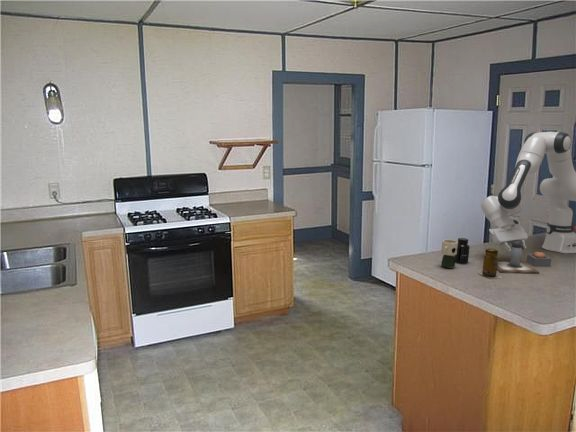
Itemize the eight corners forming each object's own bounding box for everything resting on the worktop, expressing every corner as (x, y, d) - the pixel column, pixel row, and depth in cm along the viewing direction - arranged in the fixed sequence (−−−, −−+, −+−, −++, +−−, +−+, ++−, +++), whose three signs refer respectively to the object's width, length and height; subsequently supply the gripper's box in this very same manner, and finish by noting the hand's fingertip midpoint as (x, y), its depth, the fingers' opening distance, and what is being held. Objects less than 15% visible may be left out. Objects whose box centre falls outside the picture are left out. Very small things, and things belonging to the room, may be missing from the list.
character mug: (450, 271, 224) (452, 244, 222) (436, 268, 229) (438, 241, 226) (459, 266, 232) (461, 240, 230) (445, 263, 237) (447, 237, 234)
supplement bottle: (463, 265, 234) (465, 241, 232) (450, 261, 239) (452, 238, 237) (470, 262, 239) (473, 239, 236) (458, 259, 244) (460, 236, 241)
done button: (541, 257, 239) (541, 252, 239) (545, 259, 235) (546, 254, 234) (532, 256, 239) (532, 251, 239) (536, 259, 235) (537, 254, 234)
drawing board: (523, 263, 238) (524, 261, 238) (539, 273, 222) (539, 271, 222) (487, 262, 239) (487, 260, 238) (499, 272, 223) (500, 270, 223)
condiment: (491, 272, 224) (493, 247, 222) (503, 277, 216) (505, 252, 214) (477, 273, 222) (479, 248, 220) (489, 279, 214) (491, 253, 212)
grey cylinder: (517, 264, 232) (520, 240, 230) (521, 267, 228) (524, 242, 226) (508, 264, 232) (510, 240, 230) (512, 266, 228) (514, 242, 226)
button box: (542, 261, 241) (543, 254, 241) (550, 266, 234) (551, 258, 233) (526, 261, 242) (527, 253, 241) (533, 266, 234) (534, 258, 233)
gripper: (491, 224, 228) (506, 249, 221) (521, 220, 237) (536, 244, 230) (483, 231, 233) (497, 255, 226) (512, 227, 241) (527, 251, 235)
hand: (517, 250), depth 228 cm, fingers open, 8 cm apart
